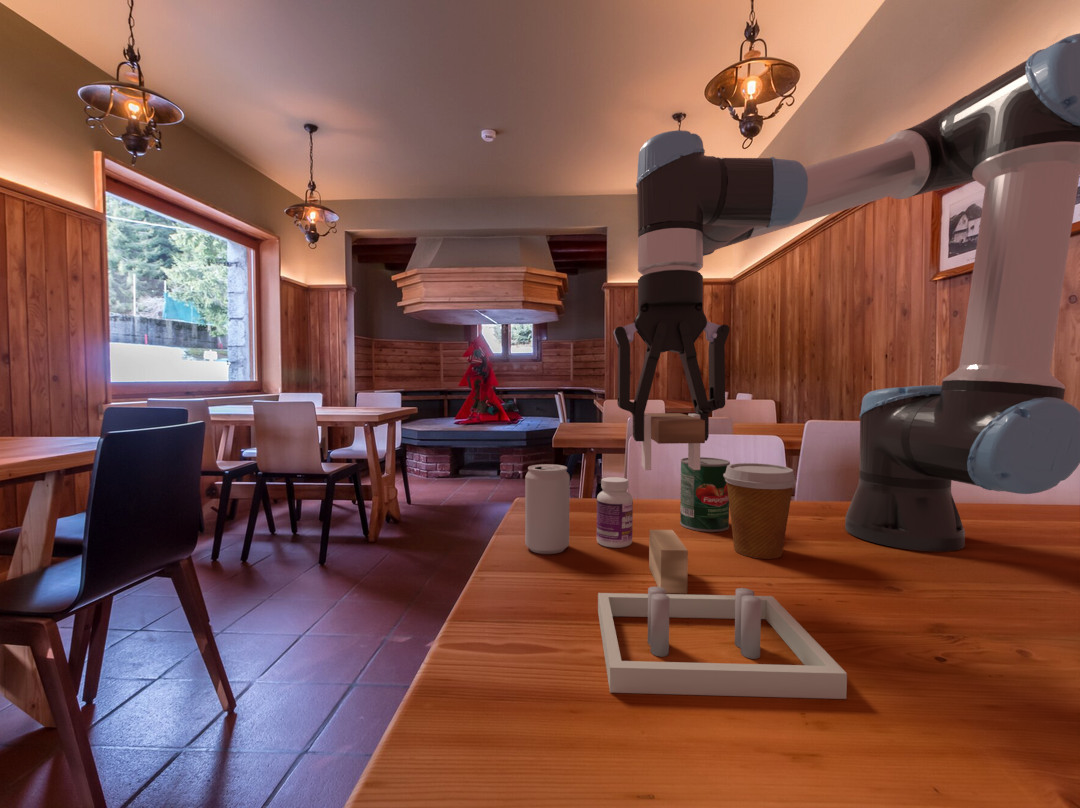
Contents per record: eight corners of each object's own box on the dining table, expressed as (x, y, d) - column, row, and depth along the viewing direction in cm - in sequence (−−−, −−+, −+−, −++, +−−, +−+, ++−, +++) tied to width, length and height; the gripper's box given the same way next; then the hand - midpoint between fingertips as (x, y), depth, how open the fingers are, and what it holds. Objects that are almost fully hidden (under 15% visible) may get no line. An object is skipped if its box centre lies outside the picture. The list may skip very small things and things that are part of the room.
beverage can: (524, 542, 77) (523, 463, 76) (566, 541, 78) (566, 462, 77) (526, 556, 71) (526, 470, 70) (572, 555, 71) (572, 470, 71)
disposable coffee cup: (804, 565, 67) (806, 475, 66) (727, 560, 69) (729, 472, 68) (784, 543, 76) (786, 463, 76) (717, 539, 78) (719, 461, 78)
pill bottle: (630, 550, 73) (630, 483, 73) (593, 546, 75) (593, 481, 74) (634, 539, 78) (634, 476, 78) (600, 536, 80) (600, 475, 80)
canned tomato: (693, 516, 91) (694, 455, 91) (737, 525, 86) (738, 460, 85) (671, 525, 86) (671, 460, 85) (715, 535, 80) (717, 466, 80)
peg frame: (771, 614, 53) (772, 567, 53) (846, 699, 39) (848, 635, 39) (598, 611, 54) (598, 564, 54) (609, 692, 40) (610, 629, 40)
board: (641, 432, 68) (641, 413, 68) (679, 431, 67) (679, 413, 67) (658, 443, 56) (658, 420, 56) (704, 443, 55) (704, 420, 55)
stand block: (672, 567, 66) (672, 529, 66) (687, 593, 58) (687, 550, 58) (649, 567, 66) (649, 529, 66) (660, 593, 58) (661, 550, 58)
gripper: (736, 278, 64) (735, 462, 65) (591, 281, 65) (593, 463, 66) (759, 265, 56) (757, 473, 58) (595, 269, 57) (597, 474, 58)
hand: (670, 467), depth 62 cm, fingers closed on board, 5 cm apart
